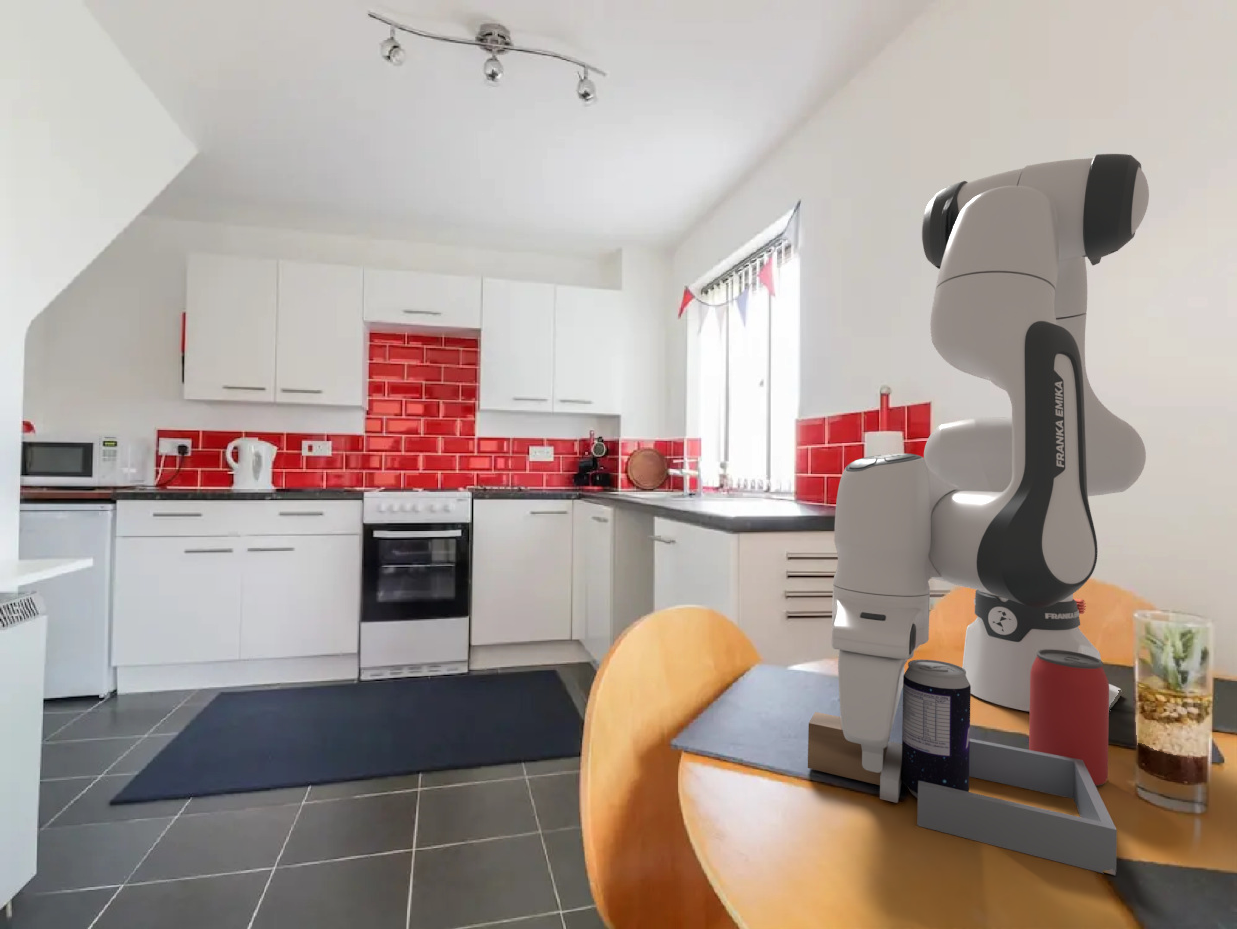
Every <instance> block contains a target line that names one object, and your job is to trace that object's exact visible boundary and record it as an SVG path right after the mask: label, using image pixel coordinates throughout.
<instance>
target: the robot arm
mask: <svg viewBox="0 0 1237 929" xmlns="http://www.w3.org/2000/svg"><path fill="white" fill-rule="evenodd" d="M1149 200H1150V190H1149V184H1148V180H1147V177H1146V175H1145V173H1144V172H1143V169H1142V164H1141V162H1140V161H1139V160H1137V158H1135V157H1134V156H1133V155H1132V154H1127V153H1099V154H1096V155H1094V157H1093V158H1091V157H1089V158H1076V159H1074V158H1073V159H1065V160H1055V161H1049V162H1048V161H1046V162H1041V163H1036V164H1029V165H1026V166H1024V167H1022V168H1018V169H1013V170H1008V171H1005V172H1001V173H997V174H991V175H989V176H986V177H982V178H979V179H978V178H977V179H976V180H972V181H970V182H968V181H966V180H963V181H959V182H957V183H954V184H951V185H949V186H946V187H945V188H942V189H940V190H939V191H938V192H937V193H936V194H935V195H934V196H933V197H932V198H931V199H930V201H929V202H928V203H927V205H926V208H925V210H924V215H923V219H922V224H921V242H922V246H923V252H924V255H925V257H926V260H927V261H928V262H929V263H931V265H933V266H934V267H935V268H937V270H939V271H938V275H937V280H936V287H935V290H934V294H933V295H934V296H933V302H932V307H931V312H930V313H931V314H930V324H929V325H930V336H931V337H930V338H931V342H932V345H933V346H934V349H935V350H936V351H937V353H938V354H939V355H940V357H941V358H942V359H943V360H944V361H945V362H946V363H948V364H949V365H950V366H952V367H953V368H955V369H957V370H959V371H960V372H963V373H965V374H968V375H971V376H973V377H977V378H980V379H983V380H987V381H990V382H991V383H992V384H993V385H994V386H996V387H998V388H999V389H1002V390H1003V391H1005V392H1006V394H1008V397H1009V400H1010V404H1011V416H1009V417H1008V416H1007V417H1006V416H1005V417H973V418H972V417H971V418H966V419H961V420H960V419H959V420H954V421H950V422H945V423H942V424H939V425H938V426H937V427H936V428H935V429H934V430H933V431H932V433H931V434H930V435H929V437H928V438H927V440H926V443H925V446H924V451H923V456H921V455H918V454H915V453H889V454H884V455H881V454H879V455H872V456H866V457H862V458H858V459H855V460H854V461H851V462H850V463H849V464H847V466H846V467H845V468H844V470H843V472H842V474H841V476H840V479H839V484H838V489H837V494H836V495H837V496H836V504H835V514H834V535H833V536H834V538H833V539H834V541H833V542H834V546H835V550H836V553H837V566H836V570H835V573H834V576H833V579H832V609H831V610H832V614H831V639H830V640H831V647H832V648H833V649H834V650H839V651H838V657H837V658H838V659H837V660H838V661H837V662H838V663H837V669H838V670H837V671H838V672H837V673H838V674H837V675H838V695H839V697H838V698H839V714H840V717H841V725H842V730H843V734H844V737H845V739H846V740H848V741H850V742H854V743H858V744H861V747H862V766H863V768H864V769H865V770H868V771H872V772H877V773H879V772H881V771H882V769H883V764H884V748H885V747H887V749H888V745H889V741H890V738H891V734H892V729H893V725H894V722H895V718H896V714H897V710H898V706H899V702H900V699H901V695H902V692H903V676H904V674H905V665H906V663H907V662H908V660H910V659H913V657H914V655H915V650H916V649H917V648H919V647H920V646H922V645H924V644H926V643H928V641H929V634H930V631H929V630H930V596H931V591H930V590H931V589H930V583H929V581H930V579H932V580H936V581H941V582H945V583H949V584H951V585H954V586H958V587H962V588H969V589H972V590H975V595H974V596H975V597H974V598H973V604H974V614H975V615H976V616H977V617H976V619H975V620H974V621H972V623H970V624H968V626H966V631H965V638H964V648H963V657H962V666H961V667H962V668H963V669H965V671H966V678H967V680H968V681H969V683H970V686H971V695H973V696H975V697H976V698H979V699H982V700H983V701H987V702H990V703H992V704H996V705H999V706H1002V707H1006V708H1011V709H1015V710H1020V711H1024V712H1029V713H1030V671H1031V668H1032V665H1033V663H1034V661H1035V659H1036V657H1037V654H1036V652H1038V651H1039V650H1044V649H1054V650H1065V651H1072V652H1077V653H1082V654H1086V655H1090V656H1093V657H1095V658H1098V659H1099V660H1101V661H1102V656H1101V653H1100V650H1098V649H1097V648H1096V647H1095V646H1094V645H1093V644H1092V642H1091V641H1090V640H1089V639H1088V638H1087V636H1086V635H1085V634H1084V633H1083V631H1081V629H1080V627H1079V626H1081V620H1080V615H1083V614H1084V613H1085V611H1086V607H1087V605H1086V604H1087V603H1086V601H1085V600H1084V599H1082V598H1080V599H1079V598H1074V594H1075V593H1076V592H1077V591H1078V590H1079V589H1081V588H1082V587H1083V586H1084V585H1085V584H1086V583H1087V582H1088V580H1090V578H1091V576H1092V575H1093V574H1094V572H1095V568H1096V566H1097V561H1098V538H1097V535H1096V534H1097V533H1096V529H1095V526H1094V521H1093V517H1092V512H1091V508H1090V502H1089V497H1094V496H1104V495H1109V494H1110V495H1111V494H1116V493H1123V492H1125V491H1127V490H1128V489H1130V488H1131V487H1132V486H1133V485H1134V484H1135V483H1136V482H1137V481H1138V480H1139V478H1140V476H1141V475H1142V473H1143V471H1144V468H1145V464H1146V459H1147V455H1146V454H1147V453H1146V448H1145V442H1144V441H1143V439H1142V437H1141V436H1140V434H1139V433H1138V431H1137V430H1136V429H1135V428H1134V427H1133V426H1132V425H1131V424H1129V423H1128V422H1126V421H1125V420H1123V419H1121V418H1120V417H1118V416H1117V415H1116V414H1114V413H1112V411H1110V410H1109V408H1107V407H1106V406H1105V405H1104V404H1103V403H1102V401H1100V400H1099V398H1098V397H1097V395H1096V394H1095V392H1094V390H1093V388H1092V386H1091V383H1090V381H1089V379H1088V378H1089V377H1088V374H1087V368H1086V343H1085V342H1086V323H1087V311H1088V310H1087V309H1088V276H1087V274H1088V273H1087V264H1086V258H1087V259H1088V261H1090V265H1091V266H1095V265H1097V264H1100V263H1101V260H1102V258H1104V257H1106V256H1109V255H1111V254H1114V253H1117V252H1119V251H1120V250H1121V248H1123V247H1124V246H1126V245H1127V244H1128V243H1129V242H1130V241H1131V240H1133V239H1134V237H1135V235H1136V231H1137V229H1138V228H1139V227H1140V225H1141V224H1142V222H1143V220H1144V218H1145V215H1146V213H1147V210H1148V206H1149ZM1118 690H1121V691H1122V689H1121V688H1120V687H1117V686H1115V685H1113V684H1110V683H1109V707H1110V705H1111V703H1112V702H1113V701H1114V699H1115V697H1116V696H1117V695H1118V693H1119V691H1118Z"/></svg>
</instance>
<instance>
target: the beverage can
mask: <svg viewBox="0 0 1237 929" xmlns="http://www.w3.org/2000/svg"><path fill="white" fill-rule="evenodd" d="M907 666H908V667H907V669H906V670H905V671H904V676H903V687H902V725H901V726H902V728H901V730H902V733H901V735H902V736H901V738H902V739H901V744H902V776H901V779H902V782H901V783H903V784H904V786H905V787H906V788H907V789H908V790H909V791H910V794H912V795H913V796H914V797H915V798H916V799H918V781H923V782H927V783H931V784H936V785H940V786H945V787H949V788H954V789H958V790H962V791H967V792H969V790H970V776H969V754H970V739H971V695H972V694H971V686H970V683H969V681H968V680H967V678H966V671H965V669H963V668H962V667H963V666H960V665H957V664H953V663H950V662H946V661H941V660H935V659H912V660H910V661H908V663H907Z"/></svg>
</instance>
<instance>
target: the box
mask: <svg viewBox="0 0 1237 929" xmlns="http://www.w3.org/2000/svg"><path fill="white" fill-rule="evenodd" d="M969 778H975V779H980V780H985V781H990V782H994V783H997V784H998V783H999V784H1003V785H1009V786H1012V787H1016V788H1021V789H1022V788H1023V789H1026V790H1031V791H1037V792H1040V793H1045V794H1049V795H1054V796H1059V797H1064V798H1068V799H1073V801H1074V804H1075V806H1076V808H1077V812H1078V814H1079V816H1077V815H1074V814H1073V815H1072V814H1067V813H1063V812H1061V811H1054V810H1050V809H1045V808H1041V807H1038V806H1033V805H1029V804H1025V803H1024V804H1023V803H1019V802H1015V801H1010V800H1006V799H1001V798H999V797H998V798H997V797H993V796H988V795H984V794H979V793H975V792H967V791H962V790H958V789H954V788H949V787H945V786H940V785H936V784H931V783H927V782H923V781H918V798H917V818H916V820H917V822H916V823H917V824H916V825H917V826H918V827H921V828H926V829H930V830H933V831H936V832H940V833H941V832H942V833H944V834H947V835H953V836H957V837H961V838H963V839H968V840H973V841H976V842H979V843H983V844H987V845H992V846H996V847H999V848H1003V849H1007V850H1011V851H1015V852H1018V853H1021V854H1022V853H1023V854H1027V855H1030V856H1035V857H1038V858H1042V859H1046V860H1049V861H1055V862H1059V863H1061V864H1062V863H1063V864H1065V865H1070V866H1073V867H1077V868H1081V869H1083V870H1084V869H1085V870H1090V871H1091V872H1095V873H1096V872H1097V873H1100V874H1104V873H1103V871H1105V870H1110V869H1113V870H1116V871H1117V846H1118V844H1117V843H1118V842H1117V840H1118V836H1117V835H1118V833H1117V832H1118V830H1117V828H1116V826H1115V823H1114V822H1113V819H1112V818H1111V815H1110V813H1109V811H1108V808H1107V807H1106V805H1105V803H1104V801H1103V799H1102V797H1101V795H1100V793H1099V790H1098V788H1097V786H1095V784H1094V782H1093V780H1092V778H1091V776H1090V774H1089V772H1088V770H1087V768H1086V766H1085V764H1084V762H1083V760H1079V759H1074V758H1069V757H1064V756H1059V755H1053V754H1048V753H1043V752H1038V751H1032V750H1029V749H1026V748H1021V747H1017V746H1010V745H1005V744H1001V743H997V742H996V743H995V742H991V741H990V742H989V741H984V740H978V739H974V738H970V754H969Z"/></svg>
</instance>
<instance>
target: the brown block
mask: <svg viewBox="0 0 1237 929" xmlns="http://www.w3.org/2000/svg"><path fill="white" fill-rule="evenodd" d="M807 737H808V739H807V768H808V769H810V770H813V771H818V772H822V773H827V774H831V775H835V776H839V777H844V778H848V779H851V780H856V781H861V782H865V783H869V784H873V785H877V786H879V799H880V800H884V801H887V802H893V803H896V804H898V803H899V798H900V794H901V787H902V786H901V785H902V783H903V782H902V779H901V776H902V743H898V742H894V741H890V740H889V745H888V749H887V747H885V748H884V764H883V769H882V771H881V772H879V773H877V772H872V771H868V770H865V769H864V768H863V766H862V747H861V744H858V743H854V742H850V741H848V740H846V739H845V737H844V734H843V730H842V725H841V716H837V715H834V714H833V715H832V714H827V713H823V712H818V711H815V712H814V714H813V715H812V717H811V719H810V720H809V721H808V733H807Z"/></svg>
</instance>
